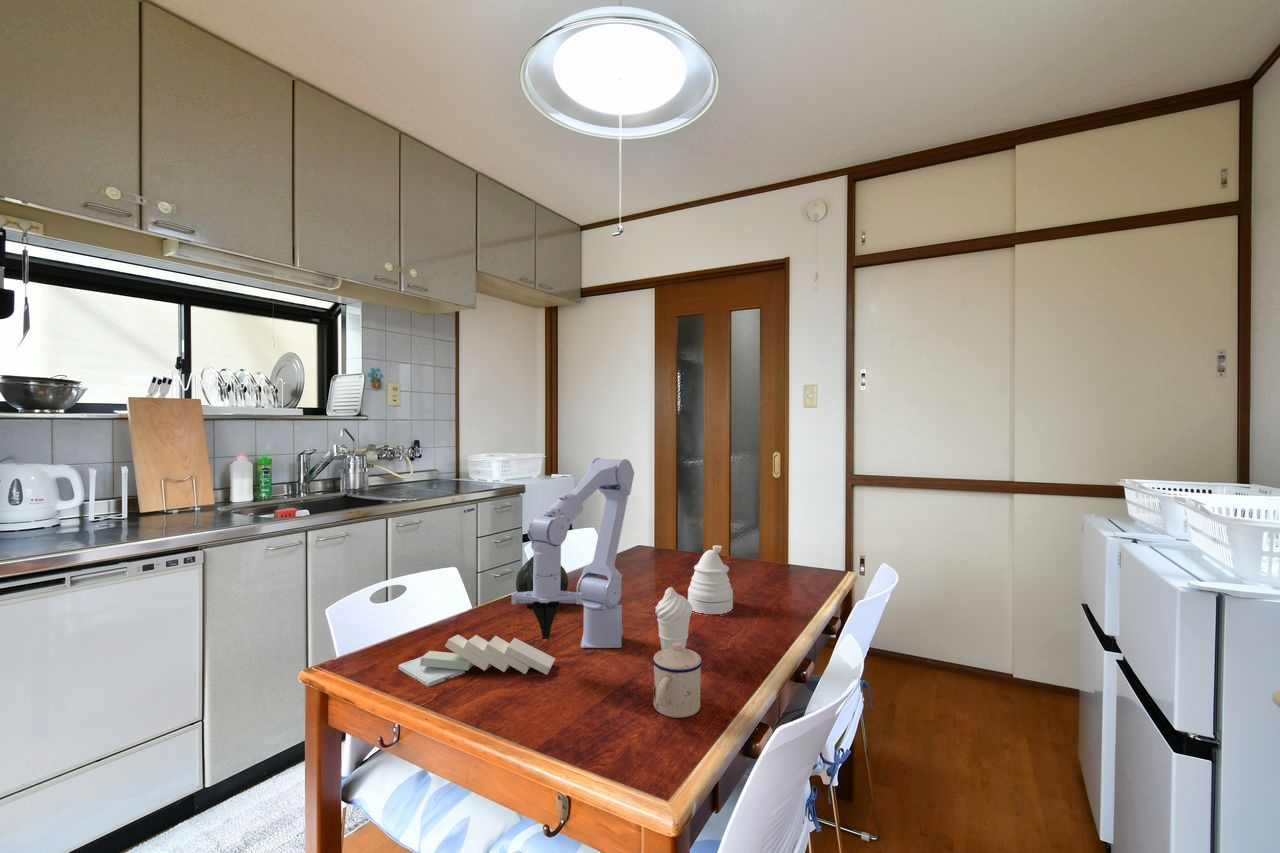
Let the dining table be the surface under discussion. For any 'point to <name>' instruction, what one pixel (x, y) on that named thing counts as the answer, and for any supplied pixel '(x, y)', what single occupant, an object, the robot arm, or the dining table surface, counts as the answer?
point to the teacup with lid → (677, 681)
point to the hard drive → (428, 672)
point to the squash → (526, 579)
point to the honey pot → (711, 585)
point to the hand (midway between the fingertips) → (546, 637)
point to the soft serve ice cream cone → (673, 618)
